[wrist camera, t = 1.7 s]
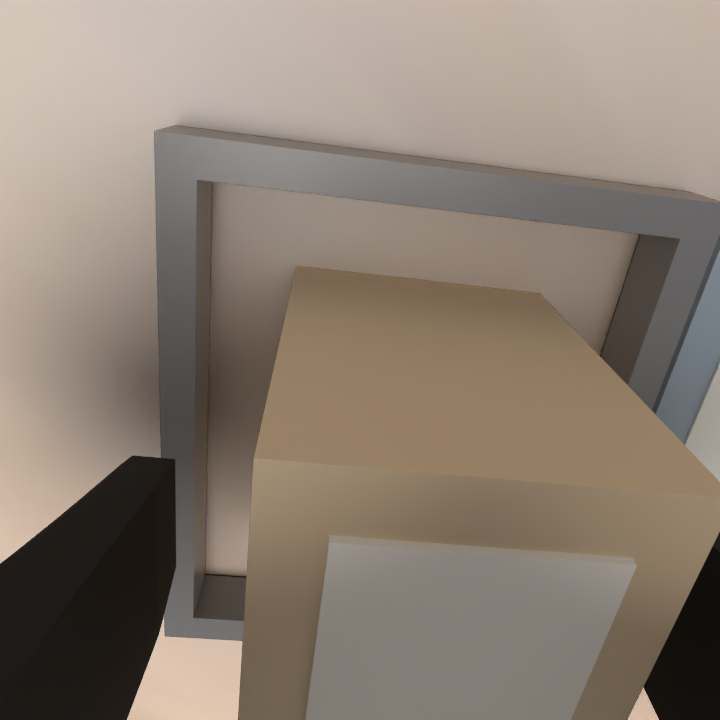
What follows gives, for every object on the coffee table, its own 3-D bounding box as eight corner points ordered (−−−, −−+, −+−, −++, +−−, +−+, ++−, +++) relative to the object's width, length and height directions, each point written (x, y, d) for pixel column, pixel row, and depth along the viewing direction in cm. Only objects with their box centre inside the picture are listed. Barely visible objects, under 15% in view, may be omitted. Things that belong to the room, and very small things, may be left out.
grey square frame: (689, 191, 10) (730, 204, 9) (539, 615, 14) (555, 659, 13) (175, 125, 9) (153, 131, 8) (178, 592, 14) (164, 636, 13)
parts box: (539, 292, 11) (742, 506, 5) (472, 540, 13) (566, 858, 8) (296, 265, 11) (253, 464, 5) (275, 525, 13) (229, 848, 8)
